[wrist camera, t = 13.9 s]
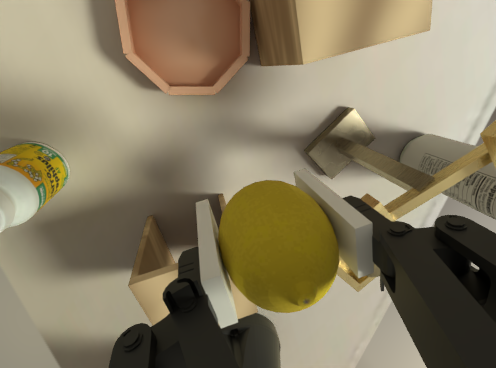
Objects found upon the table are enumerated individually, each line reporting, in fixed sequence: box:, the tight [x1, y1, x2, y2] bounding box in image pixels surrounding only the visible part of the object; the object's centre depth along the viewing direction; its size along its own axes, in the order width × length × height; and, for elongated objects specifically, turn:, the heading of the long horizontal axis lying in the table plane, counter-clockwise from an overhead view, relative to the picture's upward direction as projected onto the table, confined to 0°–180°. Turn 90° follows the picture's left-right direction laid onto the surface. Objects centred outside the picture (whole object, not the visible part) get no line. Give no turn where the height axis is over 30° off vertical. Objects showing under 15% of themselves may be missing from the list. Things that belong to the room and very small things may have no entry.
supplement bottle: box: [0, 142, 70, 233], centre depth 22 cm, size 5×5×10 cm
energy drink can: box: [400, 134, 496, 220], centre depth 28 cm, size 6×6×15 cm
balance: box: [304, 107, 496, 292], centre depth 24 cm, size 19×6×17 cm, turn 134°
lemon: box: [218, 180, 339, 313], centre depth 13 cm, size 6×6×8 cm
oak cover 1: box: [128, 194, 258, 326], centre depth 28 cm, size 9×8×11 cm
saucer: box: [115, 0, 250, 95], centre depth 23 cm, size 11×11×2 cm
